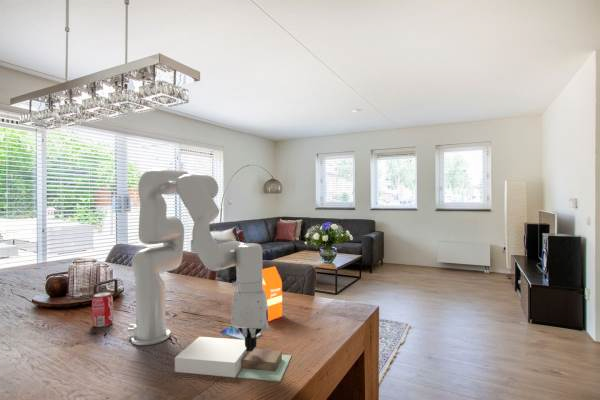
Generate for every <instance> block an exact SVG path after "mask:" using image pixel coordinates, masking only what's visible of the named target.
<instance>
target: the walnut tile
mask: <svg viewBox="0 0 600 400" xmlns="http://www.w3.org/2000/svg"><path fill="white" fill-rule="evenodd" d="M282 352H283V351H282V350H277V349H276V350H274V349H264V348H263V349H262V348H254V349H253V351H252V352H250V351H247V353H246V354H245V355H244V357H243V358H242V359H241V368H242V369H254V370H264V371H276V369H277V368H278V366H279V364H280V362H281V360H282V355H283V353H282Z"/></svg>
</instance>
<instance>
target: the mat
mask: <svg viewBox="0 0 600 400" xmlns="http://www.w3.org/2000/svg"><path fill="white" fill-rule="evenodd" d="M291 358H292V354H282V360H281V362H280V364H279V366H278V368H277V369H276V371H264V370H254V369H243V368H242V369H241V370H240V372H239V373H238V374H237V376H236V378H237V379H238V378H239V379H246V380H247V379H248V380H257V381H258V380H259V381H268V382H281V380H282V378H283V376H284V374H285V372H286V369H287V367H288V365H289V363H290V360H291Z"/></svg>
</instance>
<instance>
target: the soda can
mask: <svg viewBox="0 0 600 400" xmlns="http://www.w3.org/2000/svg"><path fill="white" fill-rule="evenodd" d="M111 294H112V292H110V291H104V292H103V291H102V292H98V293H95V294H94V295H93V298H92V300H91V323H92V326H94V327H96V328H103V327H107V326H109V325H111V323H113V320H114V299H113V298H114V297H113V295H111Z"/></svg>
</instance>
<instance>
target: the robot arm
mask: <svg viewBox="0 0 600 400" xmlns="http://www.w3.org/2000/svg"><path fill="white" fill-rule="evenodd" d="M137 188H138V190H137V191H138V197H139V214H138V215H139V217H138V239H139V241H140V242H141V243H142V244H144V245H158V246H152V247H146V248H143V249H140V250H137V252H135V253H134V255H133V256H132V257H131V269H132V272H133V277H134V286H135V287H134V288H135V323H130V324H129V325H128V328H127V330H126V331H127V333H133V335H132V336H131V339H130V341H131V342H130V343H132V344H133V345H136V346H149V345H150V346H151V345H155V344H159V343H161V342H164V341H165V340H167V339H169V338H170V337H171V335H172V332H171V330H170V329H169V328H167V317H166V315H167V312H166V310H167V309H166V305H167V304H166V303H167V302H166V284H165V281H164V280H163V279H162V277H161V275H160V274H163V273H166V272H170V271H173V270H176V269H177V268H179V267H180V266H181V264H182V261H183V255H184V243H185V242H184V241H185V226H184V224H183V222H182V220H181V219H180V218H178V216H174V215H167V210H168V209H167V207H168V206H167V202H166V200H165V198H164V196H163V195H178V196H179V197H180V199H181V202H182V203H183V205H184V207H185V208H186V210H187V212H188V214H189V215H190V218H191V219H192V221H193V226H192V233H191V234H192V236H191V237H192V246H193V249H194V251H195V252H196V254H197V256H198V258H199V260H200V261H201V263H202V264H203V266H204V267H206V268H207V269H208V270H210V271H213V272H216V271H217V272H218V271H222V270H225V269H228V268H232V267H236V280H235V281H232V285H231V286H232V287H234V288H235V290H234V291H233V296H232V301H231V303H232V304H231V311H230V312H231V313H230V314H231V315H230V322H231V326H232V327H233V328H234V329H237V330H240V332H241V333H242V334H243V336H244V337H245V347H246V351H250V352H252V351H253V349H256V347H257V339H256V335H257V334H258V333H260V332H267V331H268V330H269V327H270V326H269V323H268V322H269V321H268V305H267V298H266V293H265V290H263V269H264V268H263V247H262V245H261V244H260V243H255V242H254V243H253V242H251V243H250V242H249V243H247V242H242V241H237V240H232V241H231V240H230V241H226V242H221V243H219V242H218V243H216V240H215V239H214V237H213V235H212V234H211V230H210V223H212V222H213V221H215V220H216V218H217V217H218V216H219V214H220V208H219V207H218V206H217V204H216V202H215V200H214V198H215V197H216V196H217V195H218V194H219V193H218V192H219V185H218V182H217V181H216V179H215V178H214V177H212V176H211V175H209V174H202V173H197V172H192V171H187V170H180V169H179V170H178V169H177V170H176V169H167V168H153V169H148V170H146V171H145V172H143V173H142V174H141V176H140V177H139V180H138V185H137ZM159 244H162V245H159ZM250 330H251V332H250Z"/></svg>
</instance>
